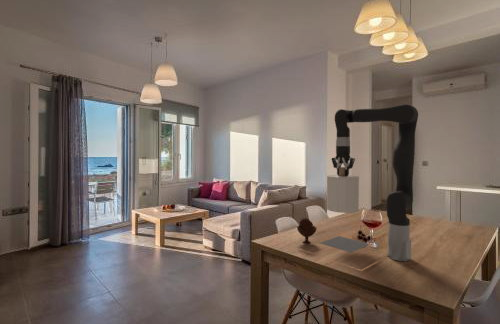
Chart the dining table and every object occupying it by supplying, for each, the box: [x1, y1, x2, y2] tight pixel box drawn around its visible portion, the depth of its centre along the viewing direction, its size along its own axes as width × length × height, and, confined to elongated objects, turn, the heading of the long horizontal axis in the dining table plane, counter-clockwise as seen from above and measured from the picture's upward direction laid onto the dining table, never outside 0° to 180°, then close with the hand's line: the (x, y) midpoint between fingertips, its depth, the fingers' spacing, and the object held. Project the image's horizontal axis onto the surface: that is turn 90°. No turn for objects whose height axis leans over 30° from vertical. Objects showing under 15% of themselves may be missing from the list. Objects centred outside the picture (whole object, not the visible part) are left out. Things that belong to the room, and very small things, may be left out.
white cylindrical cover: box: [326, 166, 360, 214], centre depth 155 cm, size 17×17×24 cm
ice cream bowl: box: [296, 217, 317, 245], centre depth 158 cm, size 11×11×15 cm
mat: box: [319, 235, 371, 254], centre depth 156 cm, size 20×20×1 cm
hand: (342, 175), depth 155 cm, fingers closed on white cylindrical cover, 4 cm apart
